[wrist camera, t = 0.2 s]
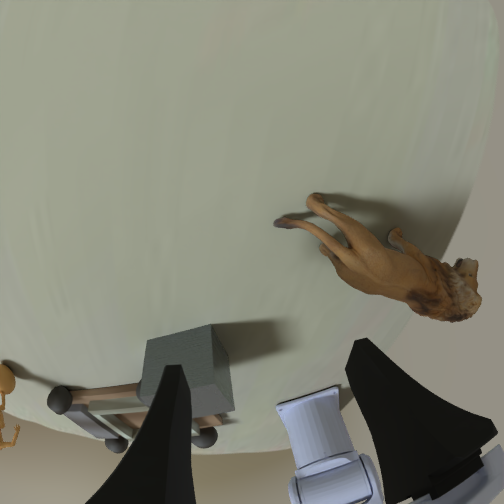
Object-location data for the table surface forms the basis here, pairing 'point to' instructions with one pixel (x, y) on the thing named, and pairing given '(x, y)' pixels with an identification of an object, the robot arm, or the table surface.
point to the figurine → (4, 383)
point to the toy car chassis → (119, 414)
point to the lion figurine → (394, 267)
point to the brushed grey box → (191, 369)
